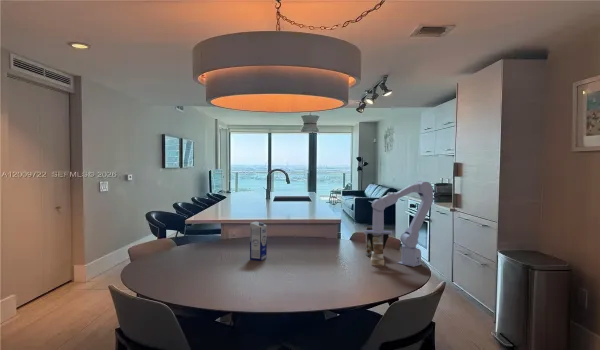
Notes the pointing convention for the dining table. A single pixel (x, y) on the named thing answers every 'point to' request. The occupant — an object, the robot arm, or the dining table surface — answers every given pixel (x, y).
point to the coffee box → (375, 239)
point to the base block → (377, 262)
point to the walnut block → (378, 248)
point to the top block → (377, 256)
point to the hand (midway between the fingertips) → (377, 248)
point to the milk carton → (258, 241)
